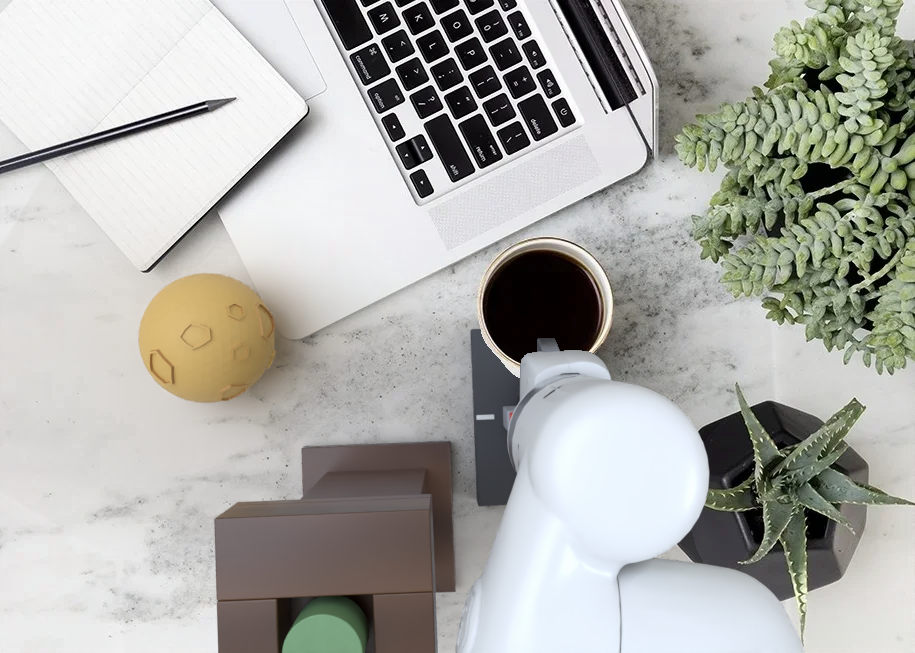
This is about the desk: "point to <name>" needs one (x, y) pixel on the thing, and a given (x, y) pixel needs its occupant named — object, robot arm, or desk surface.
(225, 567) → the brown blocky frame
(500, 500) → the gadget
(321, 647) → the green button
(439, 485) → the post
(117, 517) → the desk surface
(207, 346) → the stress ball
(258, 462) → the desk surface
